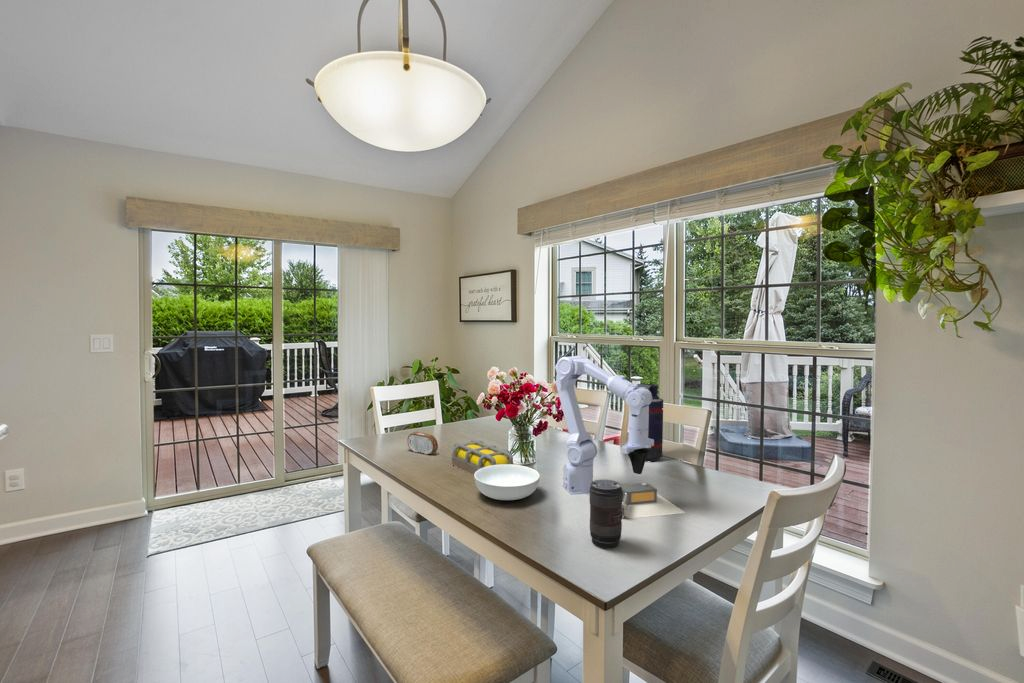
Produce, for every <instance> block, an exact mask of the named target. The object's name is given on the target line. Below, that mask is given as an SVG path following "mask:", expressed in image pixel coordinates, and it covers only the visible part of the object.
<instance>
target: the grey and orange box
mask: <svg viewBox="0 0 1024 683" xmlns="http://www.w3.org/2000/svg"><path fill="white" fill-rule="evenodd" d="M621 488H622V502H623V500H624V497H625V493H628V505H633V504H644V503H654V502H657V494H658V489H657V488H655V487H654V486H653V485H651V484H650V483H648V482H641V483H640V482H639V483H629V484H627V483H626V484H621Z"/></svg>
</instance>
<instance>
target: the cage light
mask: <svg viewBox="0 0 1024 683" xmlns="http://www.w3.org/2000/svg"><path fill="white" fill-rule="evenodd" d="M452 464H453V465H455V466H457V467H458V468H457V469H459V468H461V469H462V470H461V469H460V470H461V471H463V470H465V471H467V472H469V473H471V474H473V475H474V474H475V472H476V471H477V470H479V469H481V468H483V467H487V466H492V465H500V464H513V465H515V464H514V457H513V455H512V453H511V451H510V450H508V449H507V450H503V449H500V448H498V447H497V446H496V445H494V444H492V445H489V444H486V443H485V442H484V441H483V440H476V439H472V440H470V442H466V443H459V442H456V443H455V444H454V445H453V449H452V454H451V465H452ZM453 465H452V466H453ZM465 471H464V472H465ZM467 472H466V473H467ZM469 473H468V474H469ZM471 474H470V475H471ZM473 475H472V476H473Z"/></svg>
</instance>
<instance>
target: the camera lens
mask: <svg viewBox="0 0 1024 683" xmlns="http://www.w3.org/2000/svg"><path fill="white" fill-rule="evenodd" d="M621 485H622V484H621V483H620V482H619V481H617V480H612V479H596V480H593V482H591V486H590V493H589V508H590V509H589V531H590V532H589V533H590V534H589V535H590V538H591V542H592V545H594V546H595V547H597V548H601V549H607V550H608V549H609V550H610V549H614V548H617V547H618V546H619V544H620V540H621V538H622V532H623V525H622V524H623V523H622V522H623V518H622V513H621V507H622V488H621Z"/></svg>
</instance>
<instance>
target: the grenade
mask: <svg viewBox="0 0 1024 683" xmlns="http://www.w3.org/2000/svg"><path fill="white" fill-rule="evenodd" d="M636 384H637V385H638V388H640V387H645V388H647V389H648V390H649V391H650V392H651V394H652V402H651V403H650V404H649V405H648V406H649V425H648V438H650V439H654V446H651V448H645V449H648V450H650V453H649V455H648V456H647V458H646V461H652V462H653V461H654V460H655V461H656V460H661V459H662V458H663V440H664V439H663V435H664V433H663V432H664V399H663V398H660V396H658V389H659V386H658V385H657V384H650V383H649V384H647V383H636ZM660 458H661V459H660ZM646 461H645V462H646Z"/></svg>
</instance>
